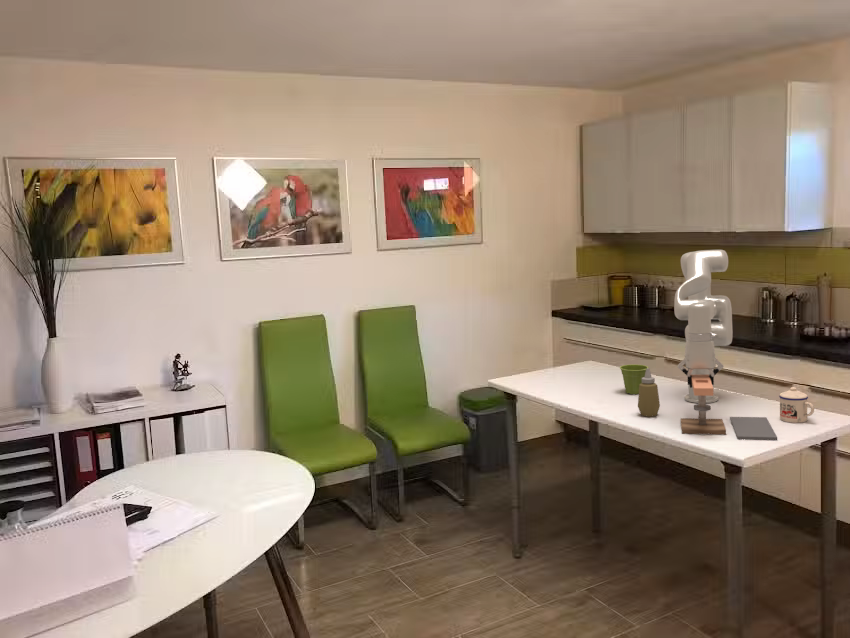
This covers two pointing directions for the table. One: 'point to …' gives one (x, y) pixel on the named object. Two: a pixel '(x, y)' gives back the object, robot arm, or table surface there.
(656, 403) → the squeeze bottle
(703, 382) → the link
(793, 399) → the teacup with lid
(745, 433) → the mat
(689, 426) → the stand
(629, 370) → the plant pot
